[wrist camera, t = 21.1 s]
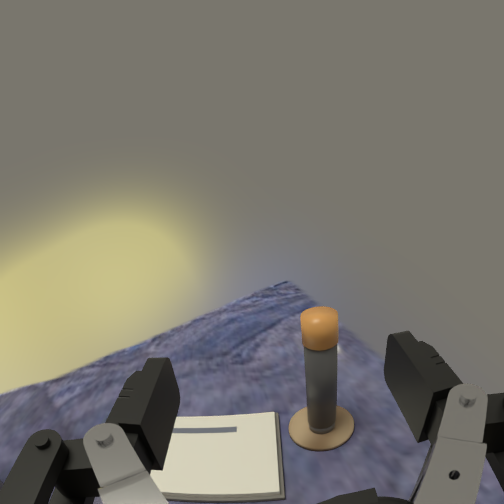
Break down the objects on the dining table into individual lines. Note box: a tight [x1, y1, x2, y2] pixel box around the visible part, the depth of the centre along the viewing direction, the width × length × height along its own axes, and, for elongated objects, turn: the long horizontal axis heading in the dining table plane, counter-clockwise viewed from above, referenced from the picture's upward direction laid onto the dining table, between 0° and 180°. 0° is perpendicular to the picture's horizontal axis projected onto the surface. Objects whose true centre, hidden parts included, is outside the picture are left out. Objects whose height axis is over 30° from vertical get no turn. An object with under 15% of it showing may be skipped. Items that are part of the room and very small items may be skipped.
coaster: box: [289, 406, 354, 451], centre depth 31 cm, size 7×7×1 cm
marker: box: [300, 307, 338, 434], centre depth 29 cm, size 3×3×14 cm
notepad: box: [150, 412, 285, 503], centre depth 28 cm, size 16×12×1 cm
